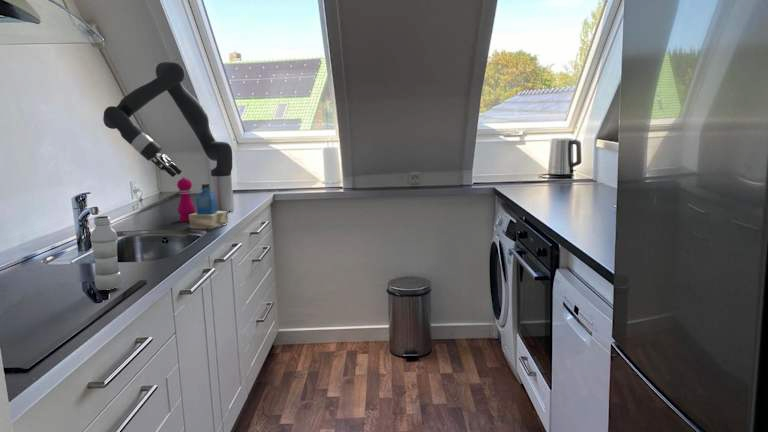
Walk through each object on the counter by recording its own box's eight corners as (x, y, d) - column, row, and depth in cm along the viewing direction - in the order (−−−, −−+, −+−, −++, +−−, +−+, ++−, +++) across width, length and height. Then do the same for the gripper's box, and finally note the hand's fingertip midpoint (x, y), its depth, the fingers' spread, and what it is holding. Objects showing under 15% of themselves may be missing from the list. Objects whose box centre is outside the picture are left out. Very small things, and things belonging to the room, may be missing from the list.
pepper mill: (190, 222, 243) (186, 176, 239) (175, 221, 245) (171, 176, 241) (198, 218, 250) (195, 174, 246) (184, 218, 252) (180, 174, 248)
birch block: (206, 223, 241) (205, 210, 240) (228, 225, 237) (227, 211, 236) (189, 228, 231) (188, 214, 230) (212, 230, 227) (211, 216, 226)
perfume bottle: (217, 211, 236) (215, 183, 234) (212, 214, 230) (210, 185, 227) (203, 211, 236) (201, 183, 234) (197, 214, 230) (195, 185, 228)
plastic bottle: (101, 286, 154) (93, 215, 150) (126, 285, 154) (119, 214, 151) (91, 294, 148) (82, 220, 144) (117, 293, 148) (110, 219, 144)
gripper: (147, 140, 218) (179, 169, 222) (157, 139, 232) (188, 166, 235) (134, 154, 219) (166, 183, 222) (145, 152, 233) (176, 178, 236)
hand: (177, 174), depth 229 cm, fingers open, 8 cm apart
